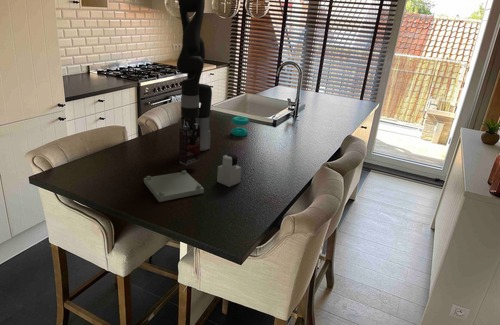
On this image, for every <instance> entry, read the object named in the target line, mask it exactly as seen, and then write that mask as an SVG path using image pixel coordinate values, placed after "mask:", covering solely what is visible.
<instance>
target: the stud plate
mask: <svg viewBox="0 0 500 325" xmlns="http://www.w3.org/2000/svg"><path fill="white" fill-rule="evenodd" d="M143 183H144V185H145V186H146V187H147V188H148V189H149V191H150V192H151V194H152V195H153V196H154V197H155V199H156V200H157V201H158V202H159V203H162V202H166V201H171V200H177V199H180V198H185V197H186V198H187V197H191V196H196V195H201V194H204V193H205V188H204V187H203V186H202V185H201V184H200V183H199V182H198V181H197V180H196V179H194V178H193V177H192V175H190V174H189V173H188V172H187V170H185V169H183V170H181V171H180V172H178V171H177V172H174V173H168V174H167V173H166V174H162V175H161V174H160V175H154V176H151V175H146V177H144V178H143Z"/></svg>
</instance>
